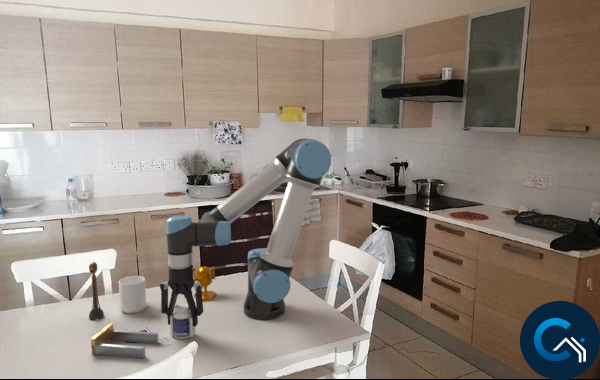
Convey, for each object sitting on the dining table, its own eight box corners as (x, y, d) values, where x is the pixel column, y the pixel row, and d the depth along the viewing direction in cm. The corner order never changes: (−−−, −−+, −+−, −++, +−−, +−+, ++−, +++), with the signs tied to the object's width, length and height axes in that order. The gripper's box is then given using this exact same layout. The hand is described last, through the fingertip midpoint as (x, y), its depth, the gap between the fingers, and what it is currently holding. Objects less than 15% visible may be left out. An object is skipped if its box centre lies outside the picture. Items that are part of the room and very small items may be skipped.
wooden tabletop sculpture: (101, 320, 151) (98, 264, 148) (87, 322, 150) (83, 265, 147) (105, 313, 157) (101, 259, 154) (90, 314, 156) (87, 260, 153)
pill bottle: (192, 338, 139) (191, 308, 138) (174, 340, 138) (172, 310, 136) (191, 330, 145) (190, 301, 143) (173, 332, 143) (172, 303, 142)
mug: (142, 314, 156) (140, 284, 155) (116, 314, 156) (115, 284, 154) (151, 300, 168) (150, 272, 167) (127, 301, 168) (126, 273, 166)
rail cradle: (158, 341, 137) (157, 326, 136) (143, 358, 127) (142, 342, 127) (110, 338, 139) (109, 323, 138) (92, 354, 129) (90, 338, 129)
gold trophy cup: (214, 290, 179) (213, 261, 178) (217, 300, 169) (216, 270, 167) (193, 292, 177) (192, 263, 175) (194, 302, 167) (193, 272, 165)
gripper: (213, 262, 140) (215, 330, 144) (157, 260, 142) (160, 327, 146) (205, 270, 133) (207, 342, 136) (146, 267, 135) (150, 338, 139)
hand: (183, 334), depth 141 cm, fingers closed on pill bottle, 6 cm apart
